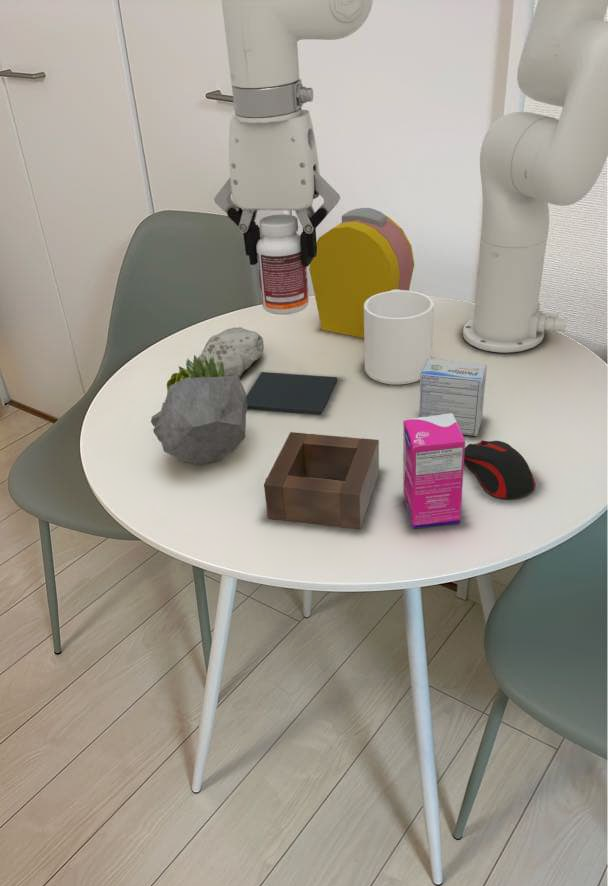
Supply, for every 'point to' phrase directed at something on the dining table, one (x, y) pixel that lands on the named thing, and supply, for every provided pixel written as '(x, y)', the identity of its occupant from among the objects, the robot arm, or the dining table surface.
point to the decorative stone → (234, 350)
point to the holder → (323, 480)
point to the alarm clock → (358, 268)
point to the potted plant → (202, 413)
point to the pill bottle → (281, 266)
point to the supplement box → (433, 470)
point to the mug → (397, 336)
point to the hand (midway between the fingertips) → (281, 260)
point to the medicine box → (454, 392)
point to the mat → (291, 393)
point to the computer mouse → (499, 469)
